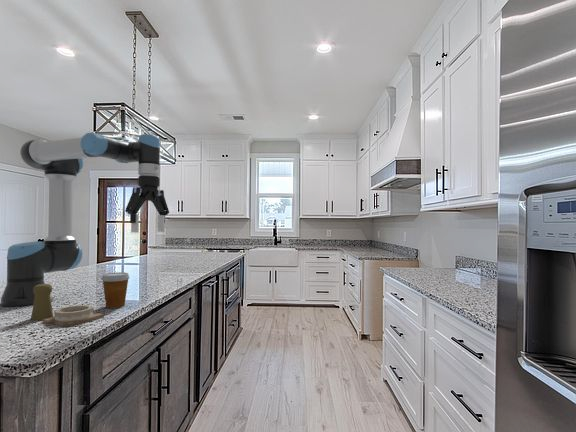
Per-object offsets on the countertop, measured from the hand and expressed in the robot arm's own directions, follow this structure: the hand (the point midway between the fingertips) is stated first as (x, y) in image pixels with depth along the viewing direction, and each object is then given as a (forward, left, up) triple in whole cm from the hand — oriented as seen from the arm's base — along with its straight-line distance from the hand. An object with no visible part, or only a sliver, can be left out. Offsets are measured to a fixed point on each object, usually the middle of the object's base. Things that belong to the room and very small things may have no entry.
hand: (148, 232), depth 132 cm
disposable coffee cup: (-11, -5, -28) cm, 30 cm away
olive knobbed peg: (-20, -26, -28) cm, 43 cm away
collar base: (-8, -24, -28) cm, 37 cm away
